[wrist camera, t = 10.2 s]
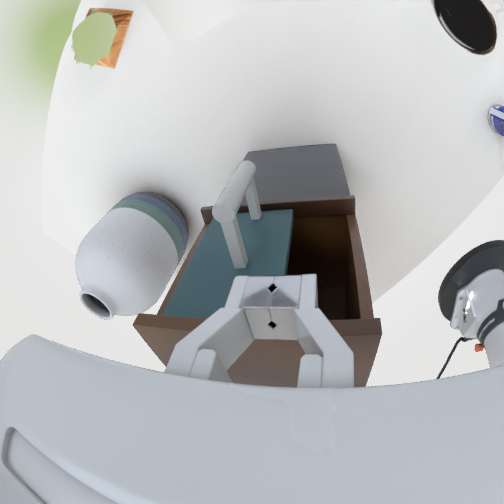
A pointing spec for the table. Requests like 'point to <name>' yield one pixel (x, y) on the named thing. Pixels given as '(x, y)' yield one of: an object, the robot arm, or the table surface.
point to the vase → (130, 255)
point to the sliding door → (233, 248)
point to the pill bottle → (497, 118)
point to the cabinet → (296, 266)
